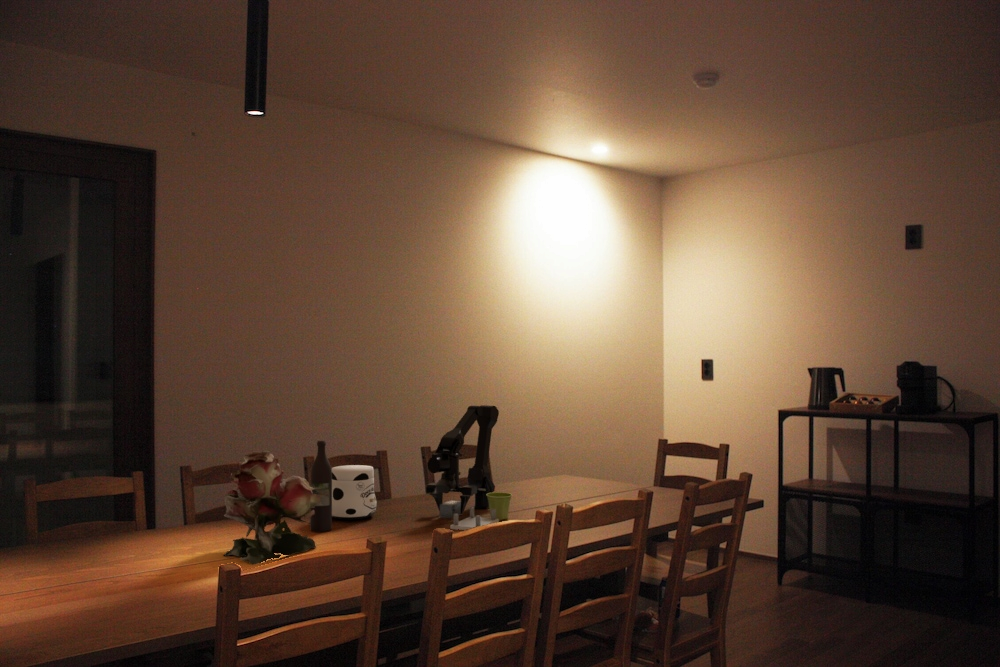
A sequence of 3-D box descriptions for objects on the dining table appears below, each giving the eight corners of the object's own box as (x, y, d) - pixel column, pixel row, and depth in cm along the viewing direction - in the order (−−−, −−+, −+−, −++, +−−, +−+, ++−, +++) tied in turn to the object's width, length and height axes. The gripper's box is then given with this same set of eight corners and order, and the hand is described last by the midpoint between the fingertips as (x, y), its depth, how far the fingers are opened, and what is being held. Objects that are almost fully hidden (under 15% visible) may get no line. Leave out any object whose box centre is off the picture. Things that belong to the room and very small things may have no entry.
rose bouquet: (330, 545, 247) (330, 448, 247) (257, 566, 221) (258, 458, 222) (270, 536, 260) (271, 443, 260) (196, 555, 234) (196, 453, 235)
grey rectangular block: (449, 513, 296) (449, 499, 296) (462, 514, 294) (462, 500, 294) (439, 518, 288) (439, 504, 288) (452, 519, 286) (452, 505, 286)
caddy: (470, 519, 284) (470, 506, 284) (498, 522, 279) (498, 508, 280) (450, 528, 269) (450, 514, 269) (480, 531, 265) (480, 517, 265)
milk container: (381, 520, 284) (381, 469, 284) (332, 524, 277) (332, 472, 278) (370, 511, 300) (370, 463, 300) (324, 515, 293) (324, 466, 294)
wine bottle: (305, 531, 266) (306, 441, 267) (319, 527, 272) (320, 439, 273) (322, 533, 263) (322, 442, 264) (336, 529, 269) (336, 440, 270)
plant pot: (513, 516, 290) (513, 492, 290) (511, 521, 281) (511, 496, 281) (487, 515, 291) (487, 492, 291) (484, 521, 282) (484, 496, 282)
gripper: (418, 471, 288) (418, 514, 287) (464, 474, 280) (464, 518, 280) (432, 467, 298) (432, 509, 297) (477, 470, 291) (477, 513, 290)
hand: (451, 512), depth 291 cm, fingers open, 8 cm apart
